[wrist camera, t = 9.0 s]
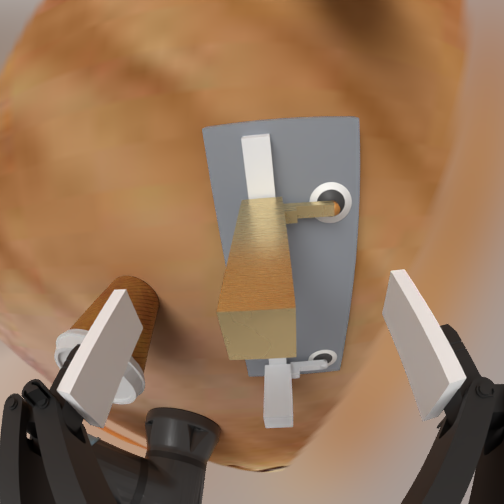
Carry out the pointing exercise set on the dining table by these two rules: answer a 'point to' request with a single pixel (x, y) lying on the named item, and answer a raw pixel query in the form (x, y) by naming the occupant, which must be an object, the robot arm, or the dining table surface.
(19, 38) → the dining table surface
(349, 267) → the gauge plate
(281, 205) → the gold pointer slider
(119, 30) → the dining table surface
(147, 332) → the disposable coffee cup
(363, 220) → the dining table surface
